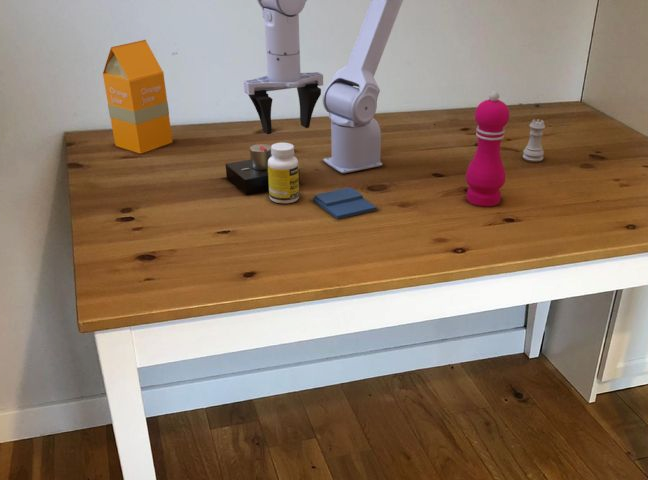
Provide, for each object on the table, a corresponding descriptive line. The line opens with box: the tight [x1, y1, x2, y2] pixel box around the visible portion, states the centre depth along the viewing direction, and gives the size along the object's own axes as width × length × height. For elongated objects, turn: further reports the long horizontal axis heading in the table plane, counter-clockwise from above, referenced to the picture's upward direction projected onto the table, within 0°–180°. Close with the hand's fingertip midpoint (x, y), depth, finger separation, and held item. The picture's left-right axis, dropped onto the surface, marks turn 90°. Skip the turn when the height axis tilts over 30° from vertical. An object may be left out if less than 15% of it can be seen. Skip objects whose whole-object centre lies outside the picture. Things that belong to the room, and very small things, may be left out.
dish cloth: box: [312, 186, 377, 220], centre depth 138 cm, size 8×9×1 cm
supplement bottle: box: [268, 142, 300, 204], centre depth 137 cm, size 5×5×10 cm
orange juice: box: [102, 39, 173, 155], centre depth 154 cm, size 8×9×20 cm
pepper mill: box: [465, 90, 510, 207], centre depth 137 cm, size 7×7×20 cm
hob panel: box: [225, 155, 301, 196], centre depth 145 cm, size 11×9×3 cm
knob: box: [249, 143, 272, 170], centre depth 143 cm, size 4×4×4 cm
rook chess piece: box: [522, 119, 546, 163], centre depth 159 cm, size 4×4×8 cm
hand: (286, 129), depth 140 cm, fingers open, 7 cm apart
